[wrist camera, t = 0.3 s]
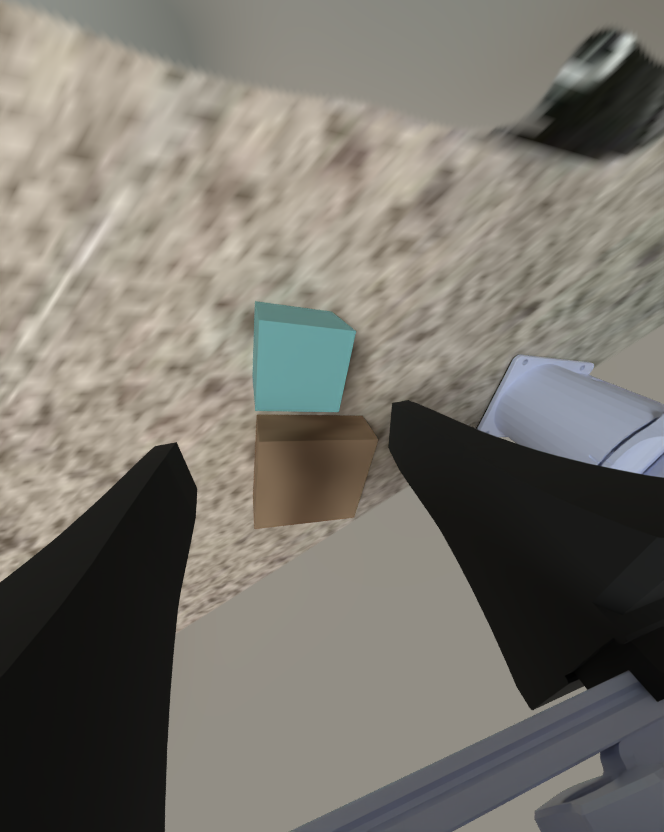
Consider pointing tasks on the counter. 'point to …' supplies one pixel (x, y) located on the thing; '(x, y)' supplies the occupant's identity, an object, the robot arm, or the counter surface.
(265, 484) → the walnut block
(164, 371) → the counter surface
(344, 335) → the teal cube
